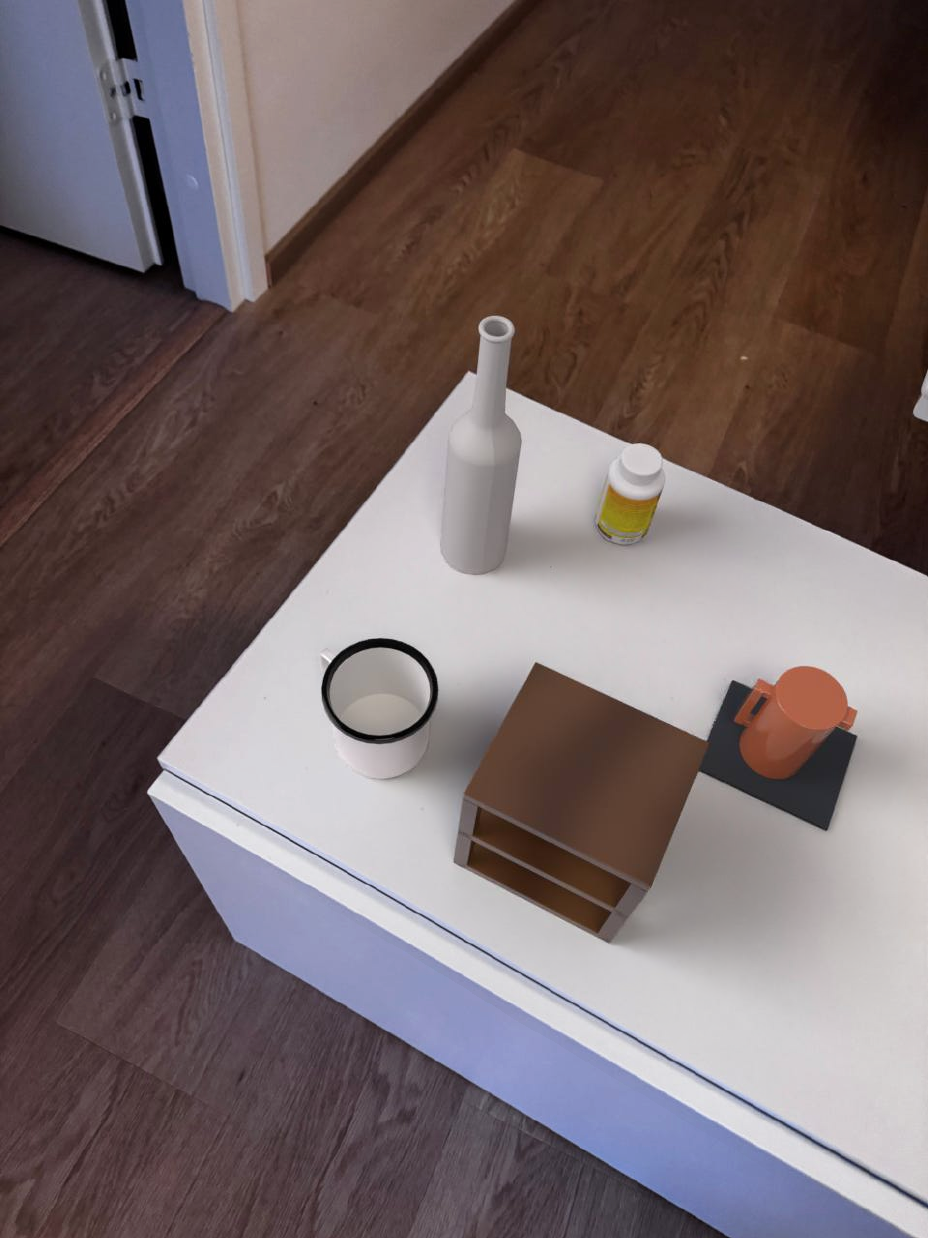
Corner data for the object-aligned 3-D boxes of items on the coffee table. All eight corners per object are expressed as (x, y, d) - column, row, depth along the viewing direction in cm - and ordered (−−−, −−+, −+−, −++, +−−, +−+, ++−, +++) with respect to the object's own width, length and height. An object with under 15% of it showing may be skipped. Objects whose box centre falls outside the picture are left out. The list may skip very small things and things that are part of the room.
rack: (662, 816, 83) (710, 742, 70) (609, 944, 77) (651, 887, 64) (515, 745, 86) (535, 661, 73) (452, 862, 80) (463, 793, 67)
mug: (457, 735, 86) (463, 687, 78) (380, 808, 82) (378, 764, 74) (363, 652, 90) (360, 598, 82) (285, 717, 86) (274, 667, 78)
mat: (855, 738, 88) (857, 735, 88) (826, 831, 83) (828, 829, 83) (730, 682, 90) (732, 679, 90) (695, 769, 86) (696, 767, 85)
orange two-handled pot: (820, 741, 87) (865, 688, 79) (802, 794, 84) (847, 746, 76) (737, 703, 89) (773, 647, 80) (716, 754, 86) (751, 702, 77)
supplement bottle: (651, 547, 98) (675, 481, 90) (597, 547, 98) (616, 481, 89) (644, 504, 101) (667, 436, 93) (591, 503, 101) (609, 435, 92)
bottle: (433, 526, 98) (444, 302, 74) (496, 516, 99) (527, 293, 76) (448, 579, 95) (465, 362, 71) (513, 568, 96) (551, 351, 72)
